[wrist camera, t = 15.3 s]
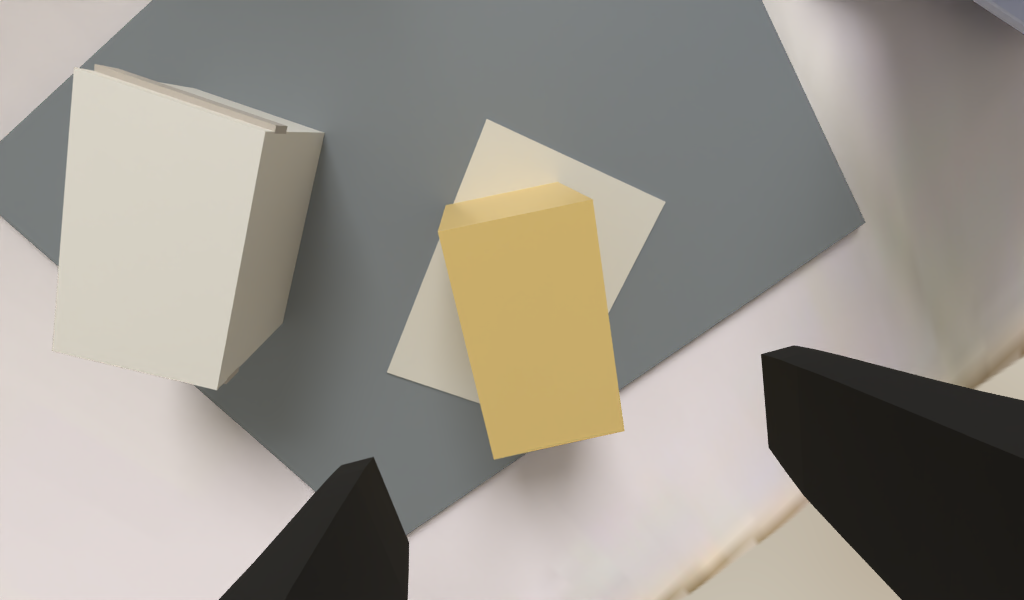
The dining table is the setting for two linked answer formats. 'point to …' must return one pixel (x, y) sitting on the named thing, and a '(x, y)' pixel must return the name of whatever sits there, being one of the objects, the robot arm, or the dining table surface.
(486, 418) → the ochre brick
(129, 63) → the baseplate
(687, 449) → the dining table surface
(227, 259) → the cream brick
